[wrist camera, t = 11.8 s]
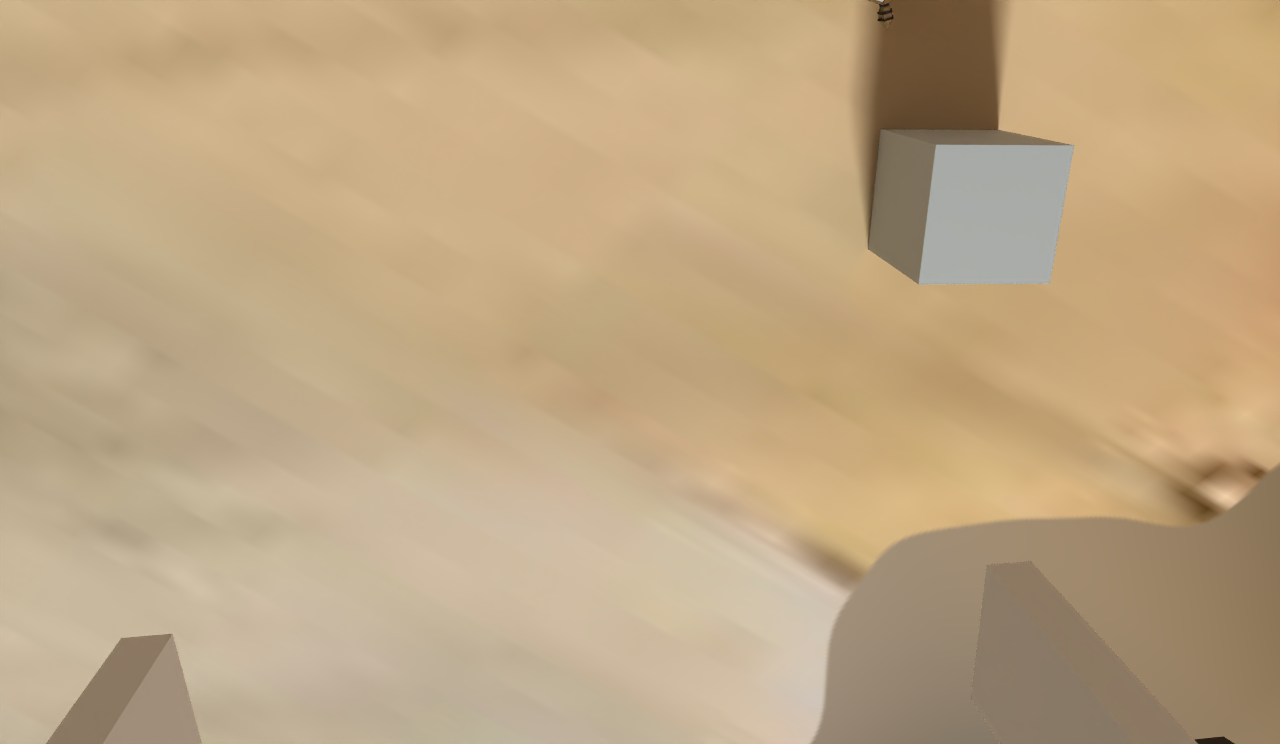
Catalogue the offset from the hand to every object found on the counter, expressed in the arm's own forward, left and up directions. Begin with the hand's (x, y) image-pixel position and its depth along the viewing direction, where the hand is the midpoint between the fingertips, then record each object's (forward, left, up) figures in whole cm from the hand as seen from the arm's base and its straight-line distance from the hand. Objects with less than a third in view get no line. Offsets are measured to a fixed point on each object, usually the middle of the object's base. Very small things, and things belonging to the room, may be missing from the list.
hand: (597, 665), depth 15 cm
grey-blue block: (+15, +4, -25) cm, 29 cm away
